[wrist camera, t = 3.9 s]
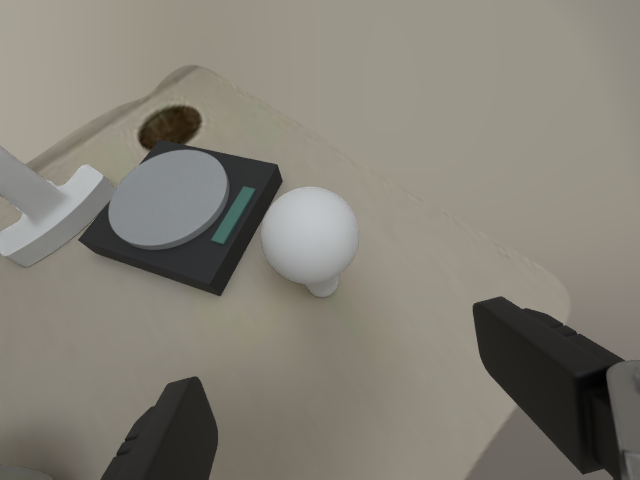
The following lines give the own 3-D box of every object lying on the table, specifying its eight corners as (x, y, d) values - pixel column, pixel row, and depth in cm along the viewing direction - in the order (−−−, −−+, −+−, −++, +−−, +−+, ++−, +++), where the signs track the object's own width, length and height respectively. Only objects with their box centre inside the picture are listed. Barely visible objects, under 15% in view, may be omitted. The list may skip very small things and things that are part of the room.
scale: (220, 296, 29) (205, 280, 27) (95, 253, 33) (71, 235, 31) (282, 181, 35) (275, 158, 33) (170, 155, 39) (155, 133, 37)
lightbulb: (376, 295, 28) (380, 214, 19) (312, 338, 27) (281, 276, 17) (333, 242, 31) (319, 150, 22) (274, 279, 30) (230, 198, 20)
